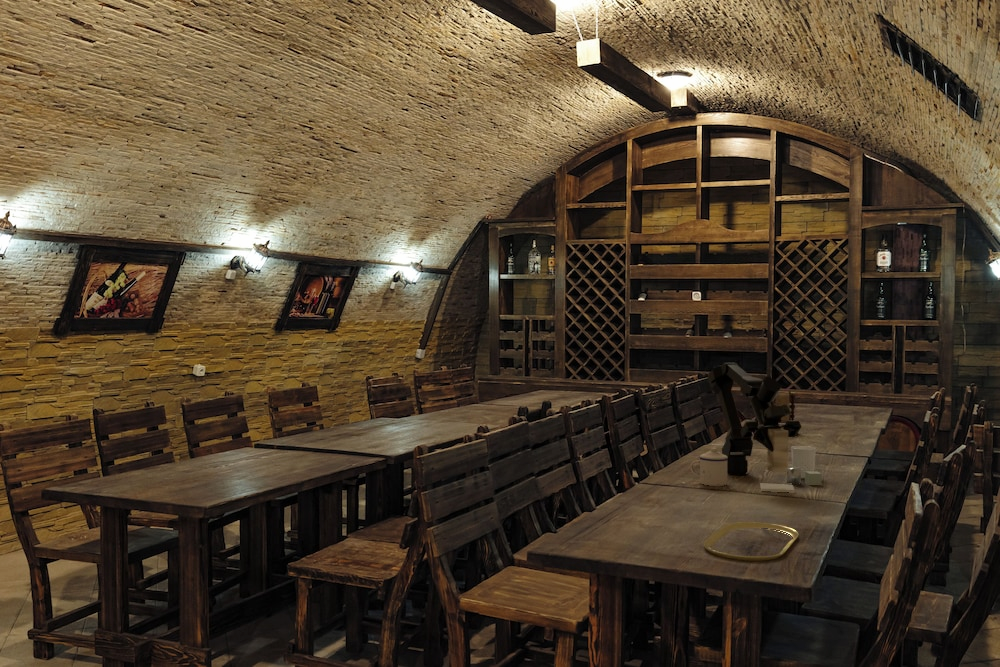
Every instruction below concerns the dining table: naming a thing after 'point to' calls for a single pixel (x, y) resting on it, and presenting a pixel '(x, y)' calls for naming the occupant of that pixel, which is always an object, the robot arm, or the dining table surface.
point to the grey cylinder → (793, 475)
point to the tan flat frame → (732, 526)
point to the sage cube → (813, 477)
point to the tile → (777, 487)
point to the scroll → (784, 400)
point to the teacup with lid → (712, 468)
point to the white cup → (803, 458)
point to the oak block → (778, 450)
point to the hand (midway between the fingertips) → (779, 450)
